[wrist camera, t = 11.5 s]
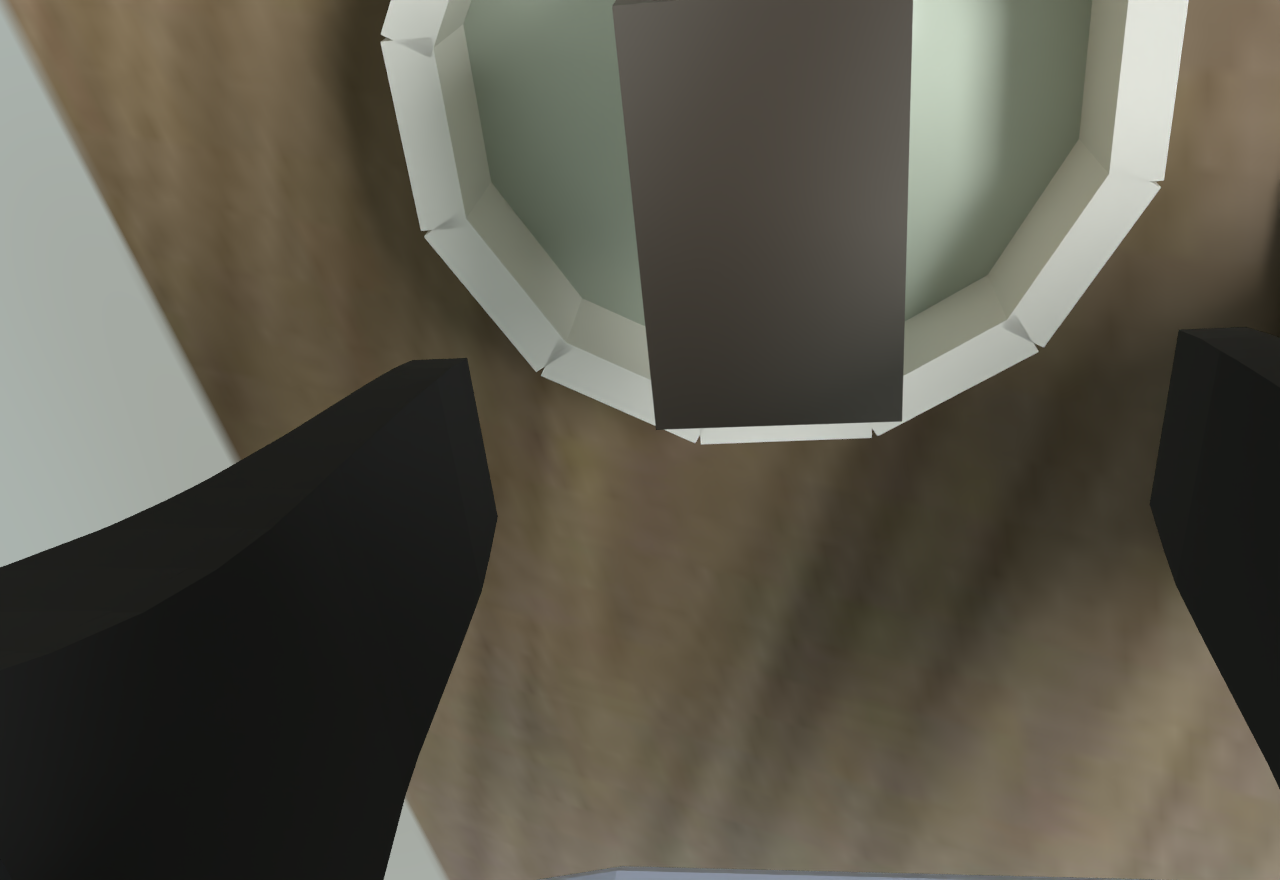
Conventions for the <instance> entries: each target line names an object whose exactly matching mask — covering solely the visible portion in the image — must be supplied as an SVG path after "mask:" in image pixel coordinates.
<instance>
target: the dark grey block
mask: <svg viewBox="0 0 1280 880" xmlns="http://www.w3.org/2000/svg"><path fill="white" fill-rule="evenodd" d="M612 11H613V20H614V30H615V39H616V49H617V59H618V68H619V78H620V88H621V97H622V107H623V116H624V126H625V136H626V145H627V155H628V165H629V174H630V184H631V194H632V203H633V213H634V222H635V232H636V242H637V251H638V261H639V271H640V280H641V290H642V299H643V309H644V319H645V328H646V338H647V348H648V357H649V367H650V376H651V386H652V396H653V405H654V415H655V425H656V430H665V429H694V428H724V427H754V426H784V425H813V424H843V423H873V422H902V406H903V368H904V330H905V291H906V253H907V215H908V177H909V139H910V101H911V62H912V24H913V0H616V1H615V2H614V4H613V5H612Z"/></svg>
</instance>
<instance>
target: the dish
mask: <svg viewBox="0 0 1280 880" xmlns="http://www.w3.org/2000/svg"><path fill="white" fill-rule="evenodd" d="M615 1H616V0H391V1H390V5H389V8H388V11H387V15H386V18H385V21H384V25H383V28H382V31H381V35H382V36H385V37H387V38H385V39H384V40H382V41H381V47H382V52H383V56H384V61H385V66H386V70H387V75H388V80H389V84H390V89H391V94H392V98H393V103H394V108H395V112H396V117H397V122H398V126H399V131H400V136H401V140H402V145H403V150H404V154H405V159H406V164H407V168H408V173H409V178H410V182H411V187H412V192H413V196H414V201H415V206H416V210H417V215H418V220H419V224H420V229H421V231H427V230H428V232H427V233H426V234H425V236H424V238H425V239H426V240H427V241H428V242H429V244H430V245H431V246H432V247H433V248H434V250H435V251H436V252H437V253H438V254H439V256H440V257H441V258H442V259H443V261H444V262H445V263H446V264H447V265H448V267H449V268H450V269H451V270H452V271H453V273H454V274H455V275H456V276H457V277H458V279H459V280H460V281H461V282H462V283H463V285H464V286H465V287H466V288H467V289H468V291H469V292H470V293H471V294H472V295H473V297H474V298H475V299H476V300H477V301H478V303H479V304H480V305H481V306H482V307H483V309H484V310H485V311H486V312H487V314H488V315H489V316H490V317H491V318H492V320H493V321H494V322H495V323H496V324H497V326H498V327H499V328H500V329H501V330H502V332H503V333H504V334H505V335H506V336H507V338H508V339H509V340H510V341H511V342H512V344H513V345H514V346H515V347H516V348H517V350H518V351H519V352H520V353H521V354H522V356H523V357H524V358H525V359H526V361H527V362H528V363H529V364H530V365H531V367H532V368H533V369H534V370H535V371H536V372H537V371H539V370H540V369H542V368H544V369H543V372H542V374H541V376H543V377H545V378H547V379H550V380H552V381H554V382H556V383H559V384H561V385H563V386H566V387H568V388H570V389H572V390H575V391H577V392H579V393H582V394H584V395H586V396H588V397H591V398H593V399H595V400H598V401H600V402H602V403H604V404H607V405H609V406H611V407H614V408H616V409H618V410H620V411H623V412H625V413H627V414H629V415H632V416H634V417H636V418H639V419H641V420H643V421H645V422H648V423H650V424H652V425H655V415H654V405H653V396H652V386H651V376H650V367H649V357H648V348H647V338H646V328H645V319H644V309H643V299H642V290H641V280H640V271H639V261H638V251H637V242H636V232H635V222H634V213H633V203H632V194H631V184H630V174H629V165H628V155H627V145H626V136H625V126H624V116H623V107H622V97H621V88H620V78H619V68H618V59H617V49H616V39H615V30H614V20H613V11H612V5H613V4H614V2H615ZM1188 1H1189V0H913V24H912V62H911V101H910V139H909V177H908V215H907V253H906V291H905V330H904V368H903V406H902V422H873V423H843V424H813V425H784V426H754V427H724V428H694V429H665V430H666V431H668V432H671V433H673V434H675V435H677V436H680V437H682V438H684V439H687V440H689V441H691V442H693V443H696V441H697V439H698V438H699V436H700V439H701V444H724V443H750V442H776V441H802V440H829V439H855V438H872V429H873V430H874V432H875V433H876V435H877V436H879V435H881V434H883V433H885V432H887V431H889V430H891V429H893V428H894V427H896V426H898V425H900V424H902V423H904V422H906V421H908V420H910V419H912V418H914V417H915V416H917V415H919V414H921V413H923V412H925V411H927V410H929V409H931V408H933V407H935V406H936V405H938V404H940V403H942V402H944V401H946V400H948V399H950V398H952V397H954V396H956V395H957V394H959V393H961V392H963V391H965V390H967V389H969V388H971V387H973V386H975V385H976V384H978V383H980V382H982V381H984V380H986V379H988V378H990V377H992V376H994V375H996V374H997V373H999V372H1001V371H1003V370H1005V369H1007V368H1009V367H1011V366H1013V365H1015V364H1017V363H1018V362H1020V361H1022V360H1024V359H1026V358H1028V357H1030V356H1032V355H1034V354H1036V353H1038V352H1039V351H1038V349H1037V347H1036V345H1035V344H1037V345H1039V346H1042V347H1045V345H1046V344H1047V342H1048V341H1049V340H1050V338H1051V337H1052V336H1053V334H1054V333H1055V332H1056V330H1057V329H1058V327H1059V326H1060V325H1061V323H1062V322H1063V321H1064V319H1065V318H1066V317H1067V315H1068V314H1069V312H1070V311H1071V310H1072V308H1073V307H1074V306H1075V304H1076V303H1077V301H1078V300H1079V299H1080V297H1081V296H1082V295H1083V293H1084V292H1085V291H1086V289H1087V288H1088V286H1089V285H1090V284H1091V282H1092V281H1093V280H1094V278H1095V277H1096V276H1097V274H1098V273H1099V271H1100V270H1101V269H1102V267H1103V266H1104V265H1105V263H1106V262H1107V260H1108V259H1109V258H1110V256H1111V255H1112V254H1113V252H1114V251H1115V250H1116V248H1117V247H1118V245H1119V244H1120V243H1121V241H1122V240H1123V239H1124V237H1125V236H1126V235H1127V233H1128V232H1129V230H1130V229H1131V228H1132V226H1133V225H1134V224H1135V222H1136V221H1137V219H1138V218H1139V217H1140V215H1141V214H1142V213H1143V211H1144V210H1145V209H1146V207H1147V206H1148V204H1149V203H1150V202H1151V200H1152V199H1153V198H1154V196H1155V195H1156V194H1157V192H1158V191H1159V189H1160V188H1161V187H1160V186H1159V185H1158V183H1157V182H1156V181H1164V176H1165V169H1166V161H1167V154H1168V147H1169V139H1170V132H1171V125H1172V118H1173V110H1174V103H1175V96H1176V88H1177V81H1178V74H1179V67H1180V59H1181V52H1182V45H1183V37H1184V30H1185V23H1186V16H1187V8H1188ZM655 426H656V425H655Z"/></svg>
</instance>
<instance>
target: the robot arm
mask: <svg viewBox="0 0 1280 880" xmlns="http://www.w3.org/2000/svg"><path fill="white" fill-rule="evenodd" d="M1150 506H1151V510H1152V513H1153V516H1154V519H1155V523H1156V526H1157V529H1158V532H1159V536H1160V539H1161V542H1162V546H1163V549H1164V552H1165V555H1166V558H1167V560H1168V563H1169V566H1170V569H1171V572H1172V575H1173V578H1174V581H1175V584H1176V586H1177V588H1178V590H1179V592H1180V594H1181V596H1182V598H1183V600H1184V602H1185V604H1186V606H1187V608H1188V610H1189V612H1190V614H1191V616H1192V618H1193V620H1194V622H1195V624H1196V626H1197V628H1198V630H1199V632H1200V634H1201V636H1202V638H1203V640H1204V642H1205V644H1206V646H1207V648H1208V650H1209V652H1210V654H1211V655H1212V657H1213V659H1214V661H1215V663H1216V665H1217V667H1218V669H1219V671H1220V673H1221V675H1222V677H1223V678H1224V680H1225V682H1226V684H1227V686H1228V688H1229V690H1230V692H1231V694H1232V696H1233V698H1234V700H1235V701H1236V703H1237V705H1238V707H1239V709H1240V711H1241V713H1242V715H1243V717H1244V719H1245V721H1246V723H1247V725H1248V726H1249V728H1250V730H1251V732H1252V734H1253V736H1254V738H1255V740H1256V742H1257V744H1258V746H1259V748H1260V749H1261V751H1262V753H1263V755H1264V757H1265V759H1266V761H1267V763H1268V765H1269V767H1270V769H1271V771H1272V773H1273V776H1274V778H1275V780H1276V782H1277V784H1278V787H1279V789H1280V338H1278V337H1276V336H1273V335H1270V334H1267V333H1264V332H1261V331H1258V330H1254V329H1251V328H1247V327H1237V328H1212V329H1187V330H1179V332H1178V338H1177V344H1176V350H1175V356H1174V362H1173V368H1172V374H1171V380H1170V386H1169V392H1168V398H1167V404H1166V410H1165V416H1164V422H1163V428H1162V434H1161V440H1160V446H1159V452H1158V458H1157V464H1156V470H1155V476H1154V482H1153V488H1152V494H1151V500H1150ZM497 517H498V516H497V511H496V506H495V501H494V495H493V490H492V485H491V480H490V475H489V470H488V464H487V459H486V454H485V449H484V444H483V439H482V433H481V428H480V423H479V418H478V413H477V407H476V402H475V397H474V392H473V387H472V382H471V376H470V371H469V366H468V361H467V358H457V359H432V360H412V361H410V362H407V363H405V364H402V365H400V366H398V367H396V368H394V369H392V370H390V371H389V372H387V373H385V374H383V375H381V376H380V377H378V378H376V379H375V380H373V381H371V382H370V383H368V384H366V385H365V386H363V387H361V388H360V389H358V390H356V391H355V392H353V393H352V394H350V395H349V396H347V397H345V398H344V399H342V400H341V401H339V402H337V403H336V404H334V405H333V406H331V407H329V408H328V409H326V410H325V411H323V412H321V413H320V414H318V415H317V416H315V417H313V418H312V419H310V420H309V421H307V422H305V423H304V424H302V425H301V426H299V427H297V428H296V429H294V430H293V431H291V432H289V433H288V434H286V435H284V436H283V437H281V438H279V439H278V440H276V441H274V442H272V443H271V444H269V445H267V446H265V447H264V448H262V449H260V450H258V451H257V452H255V453H253V454H251V455H250V456H248V457H246V458H244V459H243V460H241V461H239V462H237V463H236V464H234V465H232V466H230V467H229V468H227V469H225V470H223V471H222V472H220V473H218V474H216V475H215V476H213V477H211V478H209V479H207V480H205V481H204V482H202V483H200V484H198V485H196V486H194V487H192V488H190V489H188V490H186V491H184V492H182V493H180V494H178V495H176V496H174V497H172V498H170V499H168V500H166V501H164V502H161V503H159V504H157V505H155V506H153V507H151V508H148V509H146V510H144V511H142V512H140V513H137V514H135V515H133V516H131V517H129V518H127V519H124V520H122V521H120V522H118V523H115V524H113V525H111V526H108V527H106V528H103V529H101V530H99V531H96V532H93V533H91V534H88V535H86V536H83V537H80V538H78V539H75V540H72V541H70V542H67V543H64V544H62V545H59V546H56V547H54V548H51V549H48V550H46V551H43V552H40V553H38V554H35V555H33V556H30V557H27V558H25V559H22V560H19V561H17V562H14V563H11V564H9V565H6V566H3V567H0V880H383V879H384V876H385V872H386V868H387V864H388V860H389V856H390V852H391V849H392V845H393V841H394V837H395V833H396V830H397V826H398V821H399V818H400V814H401V810H402V806H403V803H404V799H405V795H406V792H407V789H408V786H409V783H410V780H411V777H412V774H413V771H414V768H415V765H416V762H417V759H418V756H419V753H420V751H421V748H422V746H423V743H424V741H425V738H426V735H427V733H428V730H429V728H430V725H431V722H432V720H433V717H434V715H435V712H436V710H437V707H438V704H439V702H440V699H441V697H442V694H443V692H444V689H445V686H446V684H447V681H448V679H449V676H450V674H451V671H452V668H453V666H454V663H455V661H456V658H457V656H458V653H459V651H460V648H461V645H462V643H463V640H464V637H465V635H466V632H467V629H468V627H469V624H470V621H471V619H472V616H473V613H474V611H475V608H476V605H477V603H478V600H479V597H480V594H481V591H482V587H483V583H484V579H485V574H486V570H487V566H488V562H489V557H490V552H491V547H492V542H493V537H494V532H495V527H496V522H497ZM539 880H1154V879H1114V878H1074V877H1034V876H995V875H955V874H915V873H875V872H835V871H795V870H755V869H715V868H675V867H635V866H620V867H614V868H607V869H601V870H595V871H589V872H582V873H576V874H570V875H564V876H557V877H551V878H545V879H539Z"/></svg>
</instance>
